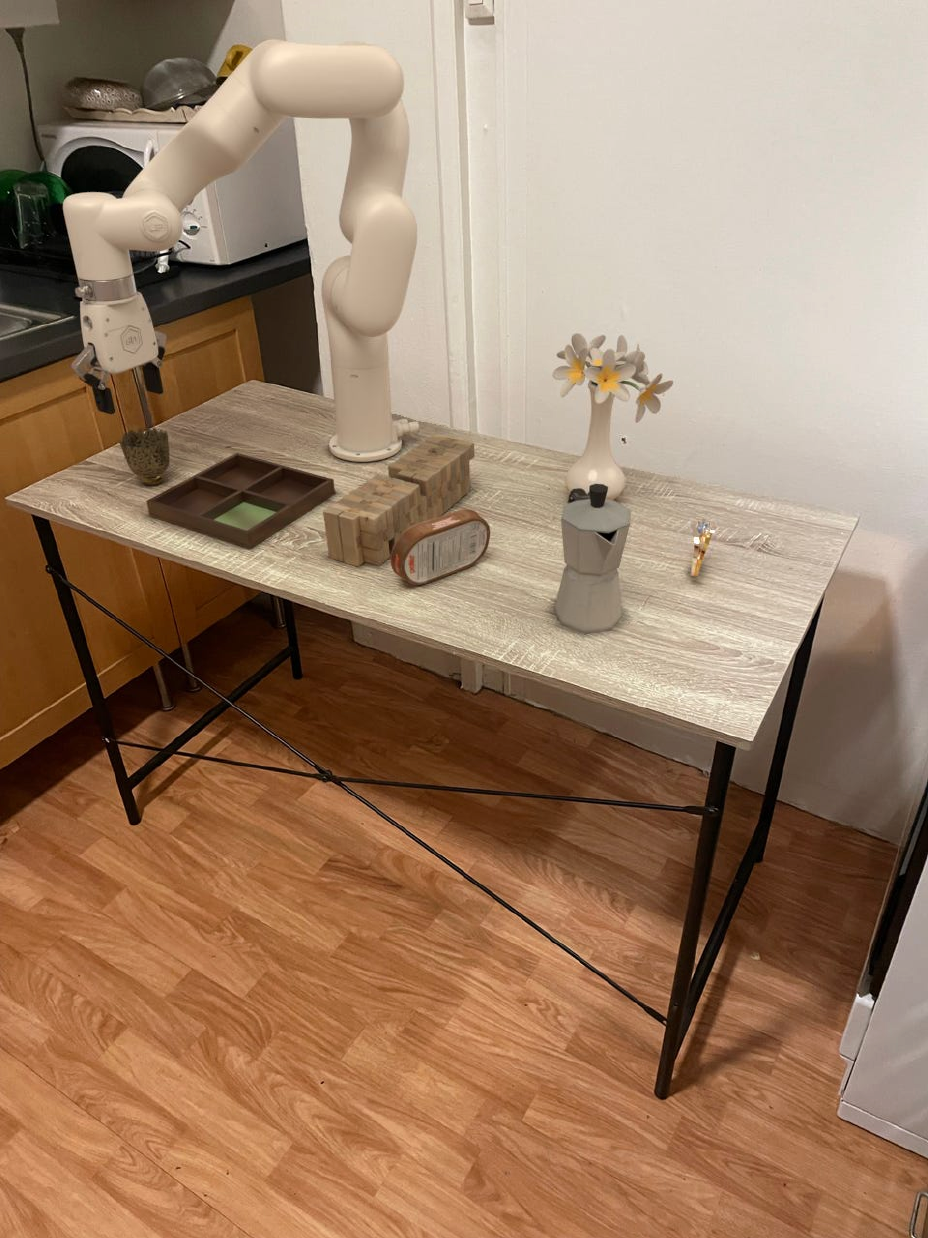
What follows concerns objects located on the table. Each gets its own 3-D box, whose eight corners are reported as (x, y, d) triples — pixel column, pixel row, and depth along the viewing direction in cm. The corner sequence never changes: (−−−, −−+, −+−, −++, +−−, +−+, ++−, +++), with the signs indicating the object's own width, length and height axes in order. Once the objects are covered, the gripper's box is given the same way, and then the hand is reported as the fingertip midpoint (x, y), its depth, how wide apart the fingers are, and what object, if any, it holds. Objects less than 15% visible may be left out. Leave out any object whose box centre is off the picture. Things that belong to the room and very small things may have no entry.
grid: (239, 466, 154) (236, 452, 153) (335, 494, 146) (333, 479, 144) (149, 516, 140) (145, 500, 138) (250, 549, 132) (247, 533, 130)
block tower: (373, 577, 127) (477, 487, 147) (368, 524, 122) (476, 439, 142) (327, 562, 130) (435, 476, 150) (320, 510, 125) (433, 429, 145)
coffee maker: (638, 637, 113) (654, 507, 103) (569, 646, 112) (579, 516, 102) (598, 575, 125) (609, 453, 115) (536, 582, 124) (542, 460, 114)
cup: (169, 492, 146) (159, 446, 142) (123, 492, 146) (112, 445, 142) (182, 472, 152) (173, 426, 148) (138, 471, 153) (127, 426, 148)
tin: (480, 552, 131) (480, 499, 126) (493, 561, 129) (494, 508, 124) (390, 586, 123) (387, 531, 119) (403, 596, 121) (400, 541, 117)
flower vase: (629, 535, 134) (648, 368, 120) (526, 499, 144) (532, 340, 130) (671, 502, 143) (693, 343, 129) (571, 470, 152) (581, 318, 138)
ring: (702, 589, 122) (711, 536, 118) (678, 584, 123) (686, 532, 119) (711, 563, 128) (720, 512, 123) (688, 559, 129) (696, 508, 124)
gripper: (77, 306, 124) (104, 425, 134) (171, 278, 136) (189, 389, 146) (40, 297, 127) (69, 415, 137) (135, 271, 140) (155, 380, 149)
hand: (131, 401), depth 141 cm, fingers open, 9 cm apart
